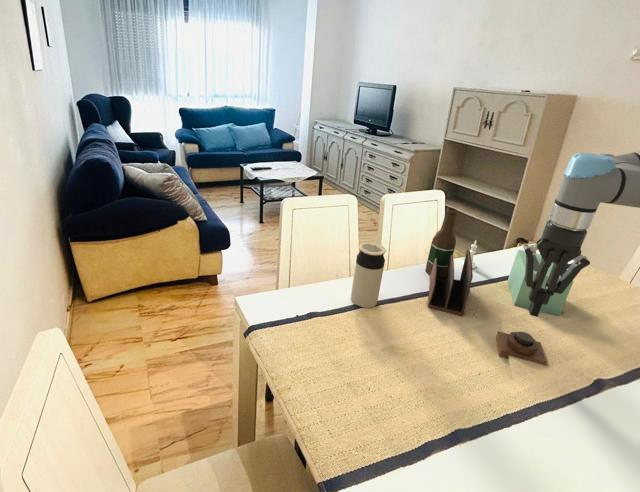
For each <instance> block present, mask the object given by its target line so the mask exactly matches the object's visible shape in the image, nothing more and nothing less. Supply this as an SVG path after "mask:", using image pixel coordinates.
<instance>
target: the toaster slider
mask: <svg viewBox="0 0 640 492" xmlns="http://www.w3.org/2000/svg"><path fill="white" fill-rule="evenodd" d="M569 266H570V265H569V262H568V263H566V264H565V267H564V269H563V270H562V272H561V273H565V272H566V270H567V269H568V268H569Z"/></svg>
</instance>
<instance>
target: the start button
mask: <svg viewBox="0 0 640 492" xmlns="http://www.w3.org/2000/svg"><path fill="white" fill-rule="evenodd" d="M516 332H517V334H516V337H515V340H516V341H517V342H518V343H520V344H522V345H525V346H531V344H532V341H533V339H534V337H533V336H532V335H531V334H530V333H528V332H526V331H516Z"/></svg>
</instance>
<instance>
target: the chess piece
mask: <svg viewBox="0 0 640 492" xmlns="http://www.w3.org/2000/svg"><path fill="white" fill-rule="evenodd" d="M477 242H478V241H477V240H474V242H473V243H472V244H471V246H470V247H471V249H469V251H470V255H471V261H472V269H476V268H477V263H476V262H475V261H474V255H475V254H476V253H477V251H476V250H477V248H478V245H477ZM461 265H462V266H463V265H464V260H462V262H461Z"/></svg>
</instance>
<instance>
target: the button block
mask: <svg viewBox="0 0 640 492" xmlns="http://www.w3.org/2000/svg"><path fill="white" fill-rule="evenodd" d="M517 332H518V331H511V332H510V333H506V332H503V331H499V330H498V331H497V332H496V335H495V341H496V347H497V354H498V357H499V358H502V359H506V360H509V359H510V358H509V357H513V358H517V359H520V360H524V361H527V362H532V363H535V364H539V365H542V366H547V364H548V360H547V358H546V355H545V352H544V349H543V345H542V343H541V342H540V341H538V340H536V339H535V338H533V341H532V344H531V346H525V345H522V344H520V343H518V342H517V341H516V340H515V337H516V334H517Z"/></svg>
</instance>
